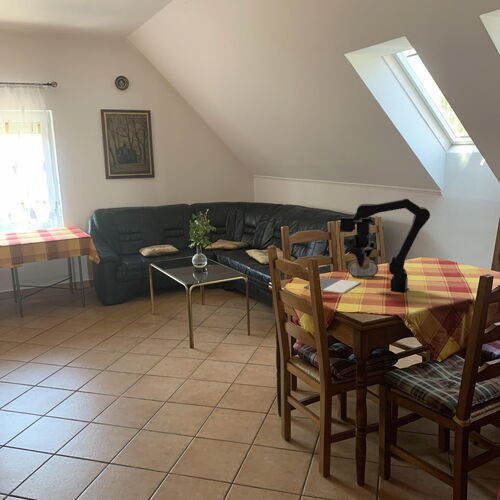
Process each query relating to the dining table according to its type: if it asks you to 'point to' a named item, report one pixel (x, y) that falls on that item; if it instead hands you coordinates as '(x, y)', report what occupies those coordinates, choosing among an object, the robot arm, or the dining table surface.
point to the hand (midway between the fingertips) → (362, 265)
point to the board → (336, 285)
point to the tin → (363, 273)
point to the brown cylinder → (365, 264)
